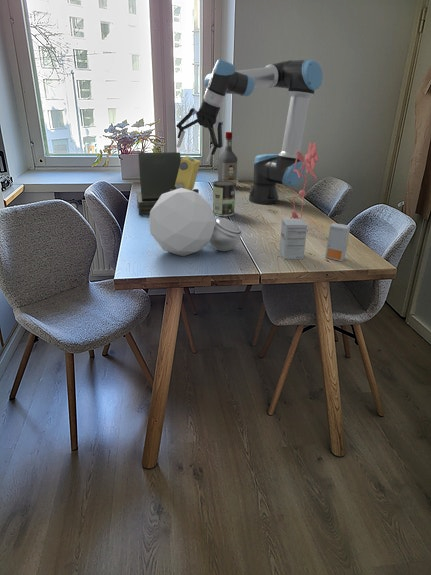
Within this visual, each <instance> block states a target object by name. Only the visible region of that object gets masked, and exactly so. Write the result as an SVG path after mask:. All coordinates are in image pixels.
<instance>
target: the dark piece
mask: <svg viewBox="0 0 431 575" xmlns="http://www.w3.org/2000/svg"><path fill="white" fill-rule="evenodd" d="M181 158H182V157H181V152H174V151H173V152H168V151H167V152H137V159H138V160H137V161H138V170H139V183H140V191H136V204H137V208H138V209H137V210H138V216H147V215H148V216H150V211H151V210H152V208H153V207H154V205H155V204H156V202H157V201H158V199H159V198H160V196H161V195H162V194H164V193H167V192H170V190H171V189H176V187H175V183H176V179H177V175H178V171H179V166H180V162H181Z"/></svg>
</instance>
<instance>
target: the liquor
mask: <svg viewBox="0 0 431 575" xmlns="http://www.w3.org/2000/svg"><path fill="white" fill-rule="evenodd" d="M224 138H225V145H224V150H223V151H222V153H221V154H220V155H219V156H218V165H217V166H218V167H217V168H218V171H217V181H232V182H235V183H236V185H235V188H236V187H237V176H238V156H236V153H235V152H234V151H233V147H232V144H233V143H232V142H233V140H232V139H233V132H232V131H225V136H224Z"/></svg>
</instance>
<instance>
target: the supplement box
mask: <svg viewBox="0 0 431 575" xmlns="http://www.w3.org/2000/svg"><path fill="white" fill-rule="evenodd" d="M281 219H282V220H281V227H280V228H281V229H280V237H279V238H280V239H279V250H278V252H279V253H280V255H281V257H282V256H283V257H282V259H284V260H303V259H304V258H305V257H304V256H305V255H304V254H305V247H306V240H307V234H308V232H307V230H308V224H307V223H306V222H305V220H303V219H302V218H301V219H294V218H292V219H290V218H281Z"/></svg>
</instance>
